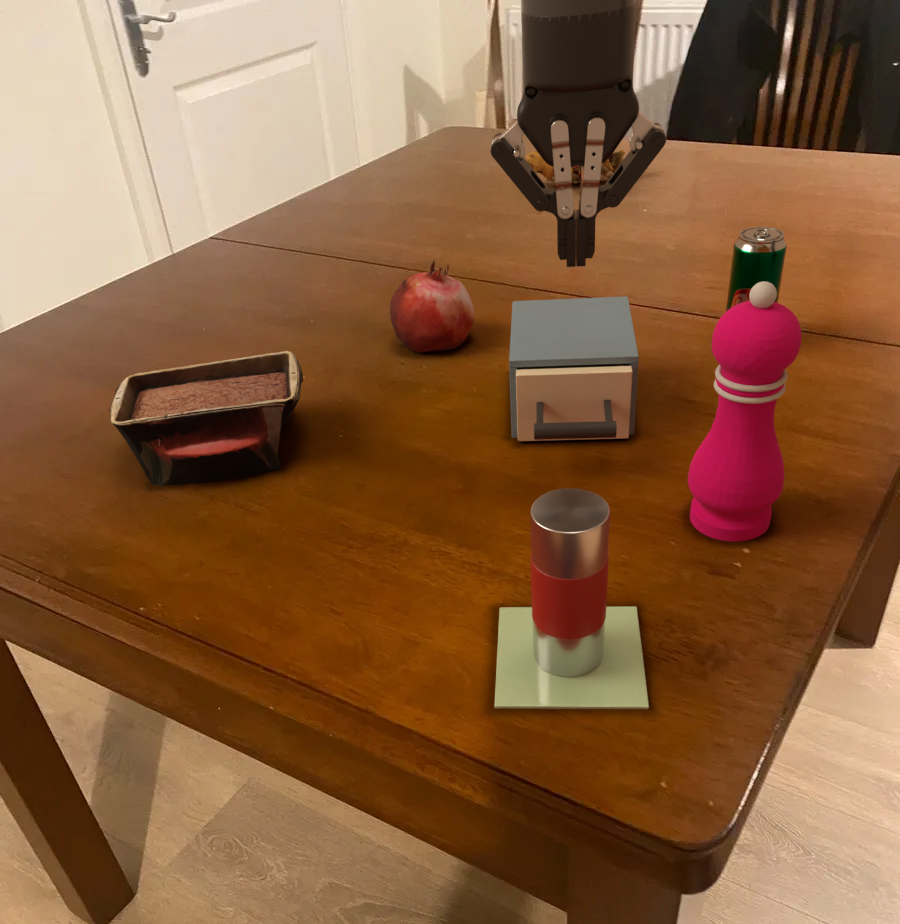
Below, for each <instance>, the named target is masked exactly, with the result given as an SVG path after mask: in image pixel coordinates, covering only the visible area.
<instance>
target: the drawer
mask: <svg viewBox="0 0 900 924" xmlns="http://www.w3.org/2000/svg"><path fill="white" fill-rule="evenodd" d="M631 389H632V366H623V364H599V365H570V366H541V367H523V369H521V370H516V399H517V432H518V438H517V441H518V442H542V441H575V440H577V441H579V440H580V441H581V440H582V441H583V440H613V439H614V440H617V439H618V440H619V439H629V437H630V435H629V423H630V406H631Z"/></svg>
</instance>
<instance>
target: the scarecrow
mask: <svg viewBox="0 0 900 924" xmlns="http://www.w3.org/2000/svg"><path fill="white" fill-rule="evenodd" d="M625 154H626V151H625V150H624V149H621V150H618V151H614V152H613V154H612V155H611V157H610V158H609V159H608V160H607V161H605V162H604V163H602V165H601V175H600V182H607V181H608V180H609V178H608V177H607V176H606V175H607V174H608V173H609V172H612V174H613V173H614V172H615V170H616V169H617V168H618V166H619V165H620V164H621V162H622V161H623V160H624V158H625V157H624V156H625ZM525 160H526V161H527V162H528V163H529V165H530V166H531V167H532V168H533V170H534V171H535V172H536V174H540V175H542V177H544V178H546V182H555V177H554V167H552V166H550V165H548V164H547V163H546V162H545V161H544V160H543V159H542V157H541V156H540V155H539V153H538V152H537V150H536V151H531V152H529V153H528V154H527V155H526V157H525ZM581 174H582V166H579V165H577V166H574V167H571V176H572V184H574V185H576V184H579V183H581ZM575 176H576V177H579V178H580V179H579V180H577V179H576V177H575Z"/></svg>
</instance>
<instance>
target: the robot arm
mask: <svg viewBox="0 0 900 924" xmlns="http://www.w3.org/2000/svg"><path fill="white" fill-rule="evenodd" d="M636 10H637V0H520V18H521V19H520V20H521V21H520V23H521V24H520V25H521V57H522V58H521V59H522V60H521V61H522V97H521V98H520V102H519V104H518V106H517V111H516V120H515V121H514V122H512V123H511V125H509V126H508V127H507V128H506V129H505V130H504V131H503V132H497V133H495V134H494V136H493V137H492V141H491V146H490V155H491V157H492V158H493V160H495V162H496V163H497V164H498V165H499V167H500V168H501V169H502V170H503V172H504V173H505V174H506V176H508V178H509V179H510V180H511V182H513V184H514V185H515V186H516V188H517V189H518V190H519V191H520V192H521V195H523V196H524V197H525V199H526V200H527V201H528V203H529V204H530V205H531V206H532V208H533V209H534V210H535V211H537V212H547V213H550V214H552V215H553V216H555V218H556V225H557V229H556V232H557V233H556V234H557V235H556V240H557V241H556V243H557V256H558V258H559V260H560V261H566V268H580V267H581V268H582V267H586V261H587V259H593V257H594V254H595V252H596V219H597V216H598V214H599V213H600V212H601V211H603V210H606V209H608V208H613V209H614V208H616V207H618V206H620V204H621V203H622V202H623V201H624V199H625V198H626V197H627V195H628V194H629V193H630V191H631V190H632V188H633V187H634V185H635V184H637V182H638V181H639V180H640V178H641V177H642V175H643V174H644V173H645V172H646V170H647V169H648V168H649V166H650V165H651V164H652V162H653V161H654V160H655V159H656V157H657V156H658V154H659V153H660V152H661V151H662V150H663V148H664V146H666V144H667V136H666V133H665V130H664V128H663V126H662V124H660V123H659V122H653V121H651V120H650V119H649V118H648V117H646V116H645V115H644V114H643V113H641V112H640V103H639V100H638V97H637V94H636V93H635V90H634V60H635V37H636V15H637V14H636ZM630 129H632V131H631V134H630V136H629V138H628V143H629V147H630V150H629V152H627V154H626V156H625V157H624V158H623V161H622V162H621V164H620V165H619V166H618V168H617V169H616V170H615V172H614V173H613V172H612V174H611V176H610V177H609V178H608V179H609V180H608V181H605V182H606V183H605V184H603V185H601V186H600V183H601V181H600V175H601V165H602V163H604V162H605V161H607V160H608V159H609V158H610V157H611V155H612V154H613V153H615V152H616V150H617V149H618V147H619V145H620V144H621V143H622V141H623V140H624V138H625V136H626V135H627V134H628V132H629V131H630ZM524 135H525V137H526V139H528V141H529V142H530V144H531V145H532V146H533V148H534V149H535V150H536V151H537V152H538V153H539V155H540V156H541V157H542V159H543V160H544V161H545V162H546V163H547V164H548V165H550V166H552V167H554V177H555V178H554V179H555V181H554V188H555V189H552V188H549V187H548V186H547V184H546V183H544V181H543V180H542V179H541V176H540V175H538V173H537V172H535V171H534V170H533V168H532V167H531V166H530V165H529V163H528V162H527V161H526V157H525V154H526V143H525V141H524V140H523V139H524V138H523V137H524ZM577 165H579V166H582V174H581V178H580V180H581V182H580V187H579V189H580V190H579V198H578V209H574V193H573V182H572V181H573V179H572V176H571V167H574V166H577Z"/></svg>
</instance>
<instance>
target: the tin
mask: <svg viewBox="0 0 900 924" xmlns="http://www.w3.org/2000/svg"><path fill="white" fill-rule="evenodd" d="M529 513H530V551H531V554H530V589H531V592H530V593H531V607H532V619H533V653H534V658H535V660H536V662H537V664H538V665H539V666H540V667H541V668H542V669H544V670H545V671H547V672H549V673H551V674H553V675H557V676H562V677H576V676H581V675H585V674H587V673H589V672H591V671H593V670H594V669H595V668H597V667H598V665H599V664H600V663H601V661H602V659H603V652H604V630H605V619H606V607H607V604H608V603H607V601H608V600H607V599H608V582H609V579H608V578H609V559H610V557H609V555H610V554H609V541H610V522H611V508H610V505H609V504H608V502H607V500H605V498H603V497H602V496H601V495H599V494H597V493H595V492H593V491H590V490H587V489H582V488H571V487H570V488H568V487H567V488H559V489H553V490H550V491H548V492H546V493H544V494H542V495H540V496H539V497H537V498H536V499H535V500H534V501H533V504H531V507H530V512H529Z"/></svg>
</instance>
